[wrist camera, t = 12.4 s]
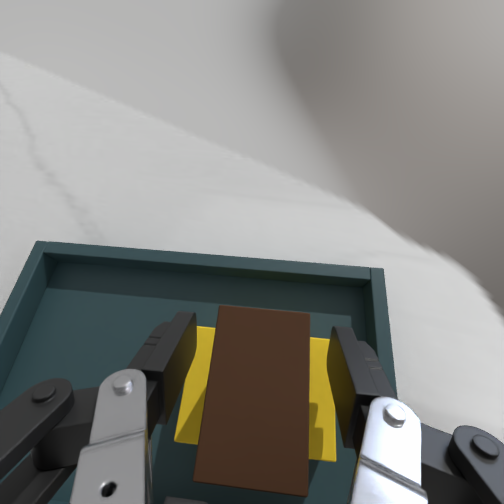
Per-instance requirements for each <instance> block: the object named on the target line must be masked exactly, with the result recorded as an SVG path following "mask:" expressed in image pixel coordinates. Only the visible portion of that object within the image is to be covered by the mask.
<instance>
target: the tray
mask: <svg viewBox="0 0 504 504" xmlns="http://www.w3.org/2000/svg"><path fill="white" fill-rule="evenodd" d="M219 305H229V306H239V307H250V308H261V309H272V310H282V311H293V312H304V313H310V337H312V338H322V339H330V335H331V330H332V327H333V326H340V327H350V328H352V329H353V331H354V334H355V336H356V338H357V341H365V342H366V343H367V344H368V345H369V346H370V347H371V348H372V349H373V350H374V351H375V353H376V355H377V357H378V359H379V362H380V364H381V366H382V368H383V370H384V372H385V374H386V376H387V378H388V380H389V382H390V384H391V386H392V388H393V390H394V392H395V395H396V397H397V389H396V380H395V371H394V361H393V352H392V343H391V334H390V324H389V315H388V306H387V297H386V287H385V278H384V269H383V268H369V267H360V266H347V265H335V264H322V263H310V262H297V261H285V260H273V259H260V258H248V257H235V256H223V255H211V254H198V253H186V252H173V251H161V250H149V249H136V248H124V247H111V246H99V245H86V244H74V243H62V242H46V241H36V243H35V245H34V247H33V249H32V251H31V253H30V255H29V257H28V259H27V261H26V263H25V266H24V268H23V270H22V272H21V274H20V276H19V278H18V280H17V282H16V284H15V286H14V288H13V290H12V292H11V294H10V297H9V299H8V301H7V303H6V305H5V307H4V309H3V311H2V313H1V315H0V410H2V409H3V408H4V407H5V406H7V405H8V404H9V403H11V402H12V401H13V400H14V399H16V398H17V397H18V396H20V395H21V394H22V393H23V392H25V391H26V390H27V389H29V388H30V387H32V386H33V385H35V384H37V383H39V382H42V381H45V380H48V379H53V378H63V379H67V380H68V381H70V383H71V385H72V389H73V390H79V389H86V388H92V387H98V386H100V385H101V383H102V382H103V381H104V380H105V379H106V378H107V377H108V376H110V375H111V374H113V373H115V372H117V371H120V370H124V369H126V368H127V366H128V365H129V364H130V362H131V361H132V359H133V358H134V357H135V355H136V354H137V352H138V351H139V349H140V348H141V347H142V345H144V342H145V341H146V340H147V338H149V335H150V334H151V333H152V331H153V330H154V328H155V327H157V326H158V325H160V324H161V323H163V322H164V321H167V322H171V321H172V319H173V318H174V316H175V315H176V313H177V312H178V311H185V312H195V313H196V316H197V326H201V327H211V328H216V322H217V316H218V309H219ZM184 383H185V381H184ZM183 389H184V384H183V386H182V389H181V391H180V393H179V396H178V398H177V401H176V403H175V406H174V408H173V410H172V413H171V415H170V418H169V420H168V423H167V425H161V424H156V426H155V428H154V431H153V433H152V435H151V436H152V466H153V502H154V504H164V501H165V498H166V496H169V497H176V498H183V499H191V500H198V501H204V502H206V503H208V504H347V499H348V495H349V490H350V485H351V481H352V476H353V472H354V467H355V463H356V459H357V457H356V453H355V449H350V448H344V446H343V441H342V437H341V432H340V428H339V423H338V418H337V414H336V409H335V426H336V462H329V461H321V460H314V459H309V474H308V497H306V498H305V497H298V496H291V495H283V494H276V493H269V492H262V491H254V490H247V489H240V488H232V487H225V486H218V485H210V484H203V483H196V482H193V472H194V466H195V459H196V452H197V446H198V445H196V444H188V443H180V442H175V441H174V437H175V432H176V426H177V421H178V416H179V410H180V405H181V399H182V394H183ZM29 454H30V451H29V452H28V453H27V454H26V455H25V456H24V457H23V458H22V459H21V460H20V461H19V462H18V463H17V464H16V465H15V466H14V467H13V468H12V469H11V470H10V471H9V472H8V473H7V474H6V475H5V476H4V477H3V478H2V479H1V480H0V483H1V482H2V481H3V480H4V479H5V478H6V477H7V476H8V475H9V474H10V473H11V472H12V471H13V470H14V469H15V468H16V467H17V466H18V465H19V464H20V463H21V462H22V461H23V460H24V459H25V458H26V457H27V456H28V455H29ZM76 469H77V468H76ZM76 469H75V470H74V471H73V473H72V474H71V475H70V476H69V478H68V479H67V480H66V481H65V483H64V484H63V485H62V486H61V488H60V489H59V490H58V491H57V493H56V494H55V495H54V496H53V497H52V499H51V500H50V501H49V502H48V504H69V502H70V498H71V493H72V488H73V483H74V479H75V474H76Z"/></svg>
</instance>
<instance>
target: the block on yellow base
mask: <svg viewBox="0 0 504 504" xmlns="http://www.w3.org/2000/svg"><path fill="white" fill-rule="evenodd" d="M329 341H330V339H322V338H312V337H310V313H304V312H293V311H282V310H272V309H261V308H250V307H239V306H229V305H219V309H218V316H217V322H216V328H211V327H201V326H197V348H196V353H195V357H194V359H193V362H192V364H191V367H190V369H189V372H188V374H187V376H186V379H185V383H184V389H183V394H182V399H181V405H180V410H179V416H178V421H177V426H176V432H175V437H174V441H175V442H180V443H188V444H196V445H198V446H197V452H196V459H195V466H194V472H193V482H196V483H203V484H210V485H218V486H225V487H232V488H240V489H247V490H254V491H262V492H269V493H276V494H283V495H291V496H298V497H305V498H306V497H308V474H309V459H314V460H321V461H329V462H336V426H335V405H334V400H333V396H332V391H331V387H330V382H329V378H328V373H327V365H326V362H327V353H328V347H329Z"/></svg>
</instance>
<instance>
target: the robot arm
mask: <svg viewBox="0 0 504 504" xmlns="http://www.w3.org/2000/svg"><path fill="white" fill-rule="evenodd" d="M196 348H197V316H196V313H195V312H185V311H178V312H177V313H176V315H175V316H174V318H173V319H172V321H171V322H167V321H164V322H163V323H161V324H160V325H158V326H157V327H155V328H154V330H153V331H152V333H151V334H150V335H149V338H147V340H146V341H145V342H144V345H142V347H141V348H140V349H139V351H138V352H137V354H136V355H135V357H134V358H133V359H132V361H131V362H130V364H129V365H128V366H127V368H126V369H124V370H120V371H117V372H115V373H113V374H111V375H110V376H108V377H107V378H106V379H105V380H104V381H103V382H102V383H101V385H100V386H98V387H92V388H86V389H79V390H73V389H72V385H71V383H70V381H68V380H67V379H63V378H53V379H48V380H45V381H42V382H39V383H37V384H35V385H33V386H32V387H30V388H29V389H27V390H26V391H25V392H23V393H22V394H21V395H20V396H18V397H17V398H16V399H14V400H13V401H12V402H11V403H9V404H8V405H7V406H5V407H4V408H3V409H2V410H0V480H1V479H2V478H3V477H4V476H5V475H6V474H7V473H8V472H9V471H10V470H11V469H12V468H13V467H14V466H15V465H16V464H17V463H18V462H19V461H20V460H21V459H22V458H23V457H24V456H25V455H26V454H27V453H28V452H29V451H30V454H29V455H28V456H27V457H26V458H25V459H24V460H23V461H22V462H21V463H20V464H19V465H18V466H17V467H16V468H15V469H14V470H13V471H12V472H11V473H10V474H9V475H8V476H7V477H6V478H5V479H4V480H3V481H2V482H1V483H0V504H48V502H49V501H50V500H51V499H52V497H53V496H54V495H55V494H56V493H57V491H58V490H59V489H60V488H61V486H62V485H63V484H64V483H65V481H66V480H67V479H68V478H69V476H70V475H71V474H72V473H73V471H74V470H75V469H76V468H77V469H76V474H75V479H74V483H73V488H72V493H71V498H70V502H69V504H154V502H153V466H152V436H151V435H152V433H153V431H154V428H155V426H156V424H161V425H167V423H168V420H169V418H170V415H171V413H172V410H173V408H174V406H175V403H176V401H177V398H178V396H179V393H180V391H181V389H182V386H183V384H184V381H185V379H186V376H187V374H188V372H189V369H190V367H191V364H192V362H193V359H194V357H195V353H196ZM326 365H327V373H328V378H329V382H330V387H331V391H332V396H333V400H334V405H335V409H336V414H337V418H338V423H339V428H340V432H341V437H342V441H343V446H344V448H350V449H355V453H356V457H357V459H356V463H355V467H354V472H353V476H352V481H351V485H350V490H349V495H348V499H347V504H504V444H503V443H502V442H501V441H499V440H498V439H497V438H495V437H494V436H492V435H491V434H489V433H487V432H485V431H483V430H481V429H479V428H476V427H472V426H465V425H464V426H459V427H457V428H456V429H455V430H454V433H453V435H451V434H448V433H445V432H443V431H440V430H437V429H435V428H432V427H429V426H427V425H425V424H423V423H421V422H420V420H419V418H418V417H417V415H416V414H415V412H414V411H413V410H412V409H411V408H409V407H408V406H407V405H406V404H404V403H402V402H401V401H399V400H398V399H397V397H396V395H395V392H394V390H393V388H392V386H391V384H390V382H389V380H388V378H387V376H386V374H385V372H384V370H383V368H382V366H381V364H380V362H379V359H378V357H377V355H376V353H375V351H374V350H373V349H372V348H371V347H370V346H369V345H368V344H367V343H366V342H365V341H357V338H356V336H355V334H354V331H353V329H352V328H350V327H340V326H333V327H332V330H331V335H330V341H329V347H328V353H327V362H326ZM164 504H208V503H206V502H204V501H198V500H191V499H183V498H176V497H169V496H166V498H165V501H164Z"/></svg>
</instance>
